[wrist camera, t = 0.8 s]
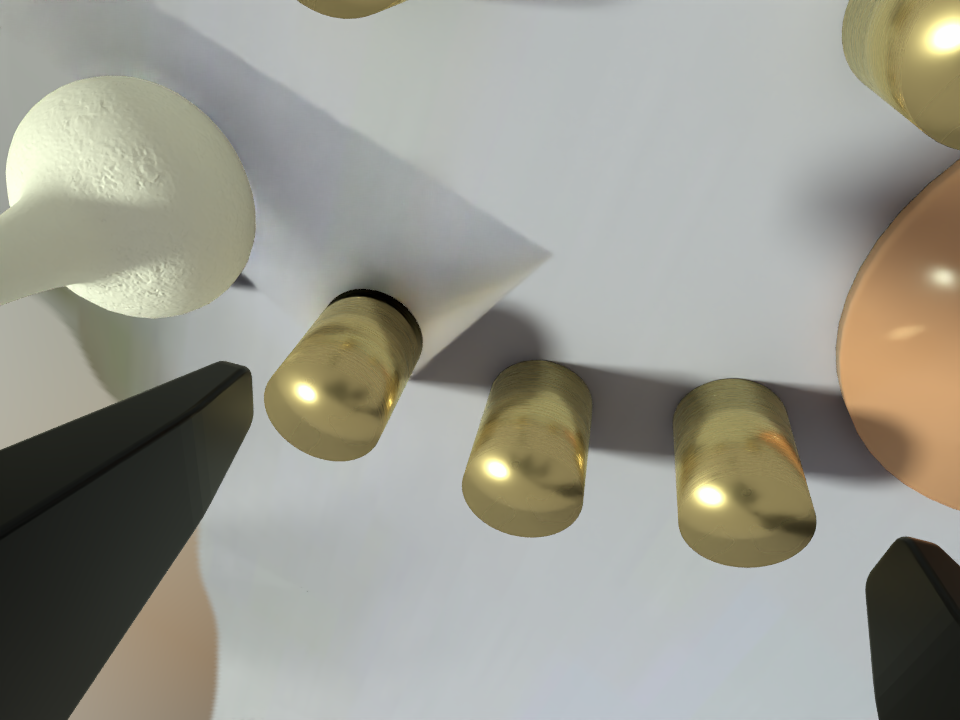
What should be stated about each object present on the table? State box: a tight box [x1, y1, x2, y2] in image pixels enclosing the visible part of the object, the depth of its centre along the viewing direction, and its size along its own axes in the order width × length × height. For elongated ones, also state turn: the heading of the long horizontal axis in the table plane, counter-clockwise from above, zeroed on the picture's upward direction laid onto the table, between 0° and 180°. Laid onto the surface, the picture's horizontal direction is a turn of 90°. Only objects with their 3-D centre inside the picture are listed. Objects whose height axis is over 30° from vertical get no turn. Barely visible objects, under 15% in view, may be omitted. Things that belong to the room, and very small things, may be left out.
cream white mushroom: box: [0, 76, 256, 319], centre depth 16 cm, size 6×6×8 cm
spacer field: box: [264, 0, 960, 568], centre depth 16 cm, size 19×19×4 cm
